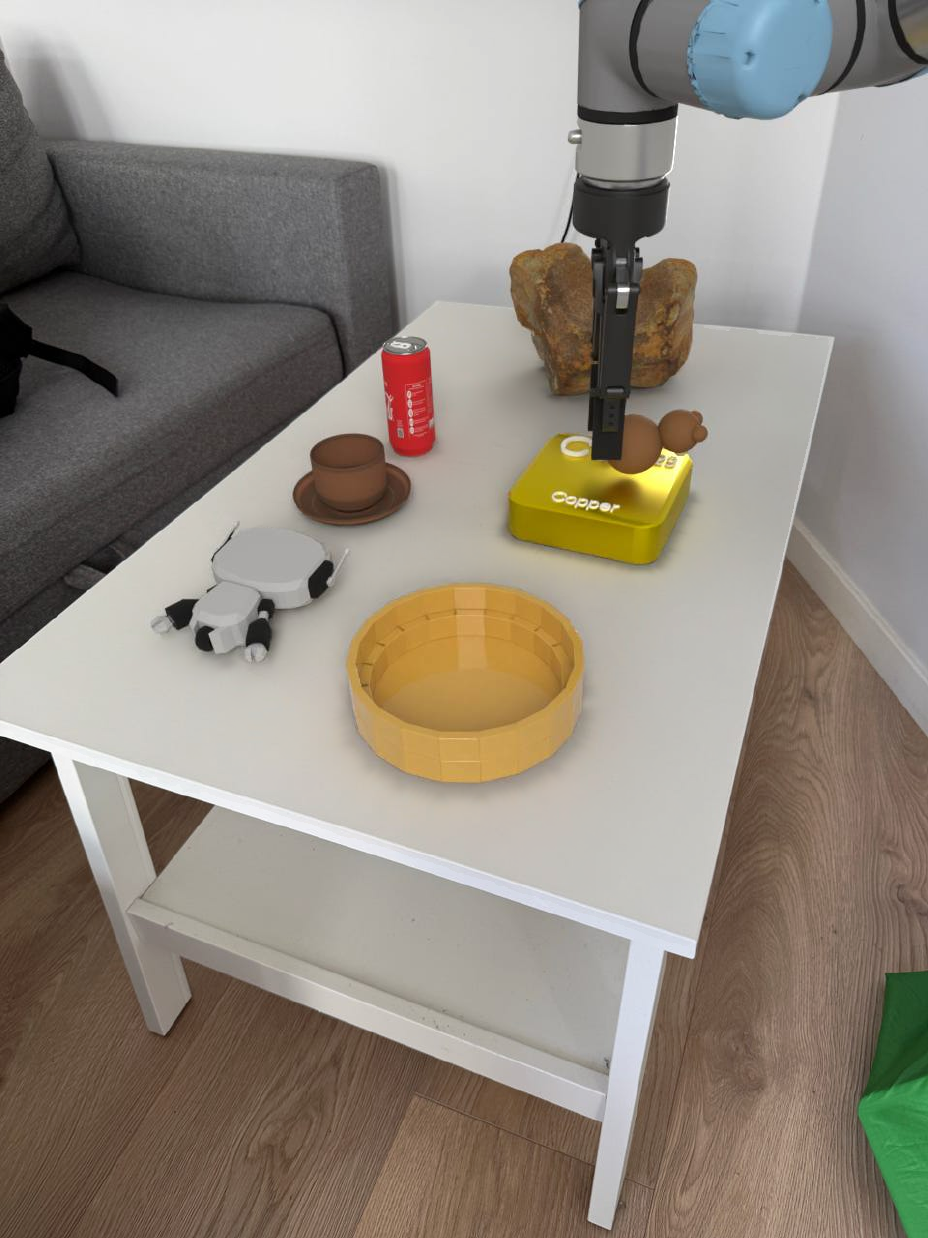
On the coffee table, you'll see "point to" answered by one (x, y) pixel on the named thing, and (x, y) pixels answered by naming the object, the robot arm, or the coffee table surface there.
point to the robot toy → (253, 589)
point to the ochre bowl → (466, 681)
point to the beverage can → (408, 395)
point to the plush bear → (657, 439)
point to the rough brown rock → (563, 309)
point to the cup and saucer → (350, 482)
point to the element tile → (598, 502)
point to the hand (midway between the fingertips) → (603, 442)
